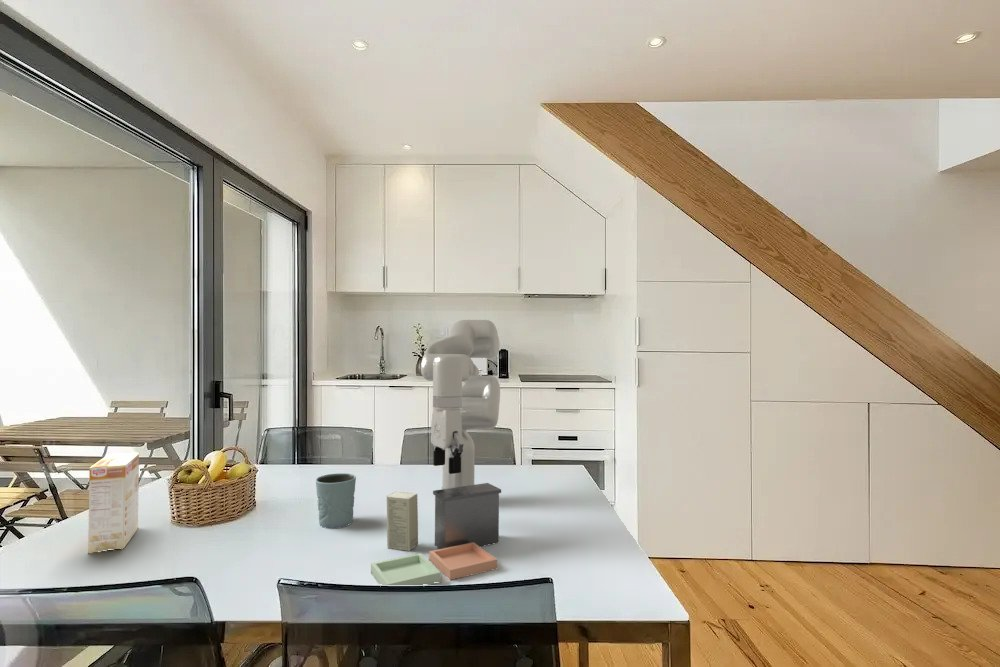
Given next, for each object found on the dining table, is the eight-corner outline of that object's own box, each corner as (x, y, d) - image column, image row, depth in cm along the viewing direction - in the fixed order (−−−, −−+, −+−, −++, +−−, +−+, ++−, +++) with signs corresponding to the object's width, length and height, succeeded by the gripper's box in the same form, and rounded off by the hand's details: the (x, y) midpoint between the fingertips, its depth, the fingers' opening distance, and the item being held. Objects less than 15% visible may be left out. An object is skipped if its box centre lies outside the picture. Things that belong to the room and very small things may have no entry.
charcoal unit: (432, 545, 124) (433, 490, 124) (487, 534, 132) (487, 482, 132) (444, 555, 118) (444, 498, 119) (500, 543, 126) (501, 489, 126)
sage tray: (370, 573, 109) (370, 563, 109) (420, 562, 114) (420, 553, 114) (387, 595, 99) (387, 584, 99) (440, 582, 105) (440, 572, 105)
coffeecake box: (105, 532, 131) (107, 454, 132) (139, 528, 134) (141, 451, 134) (85, 554, 117) (87, 467, 118) (123, 549, 120) (125, 464, 121)
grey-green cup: (363, 520, 141) (363, 475, 142) (336, 532, 132) (337, 484, 132) (334, 514, 146) (334, 471, 146) (306, 526, 137) (307, 479, 137)
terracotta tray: (429, 560, 115) (429, 551, 115) (473, 550, 121) (473, 542, 121) (449, 580, 106) (450, 570, 106) (497, 568, 111) (497, 559, 111)
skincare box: (418, 545, 124) (419, 493, 125) (409, 551, 120) (409, 498, 120) (395, 541, 126) (395, 490, 127) (385, 548, 122) (386, 495, 122)
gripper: (421, 400, 142) (420, 463, 141) (447, 407, 127) (447, 478, 126) (446, 399, 145) (446, 461, 145) (475, 405, 130) (474, 474, 130)
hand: (446, 469), depth 136 cm, fingers open, 9 cm apart
